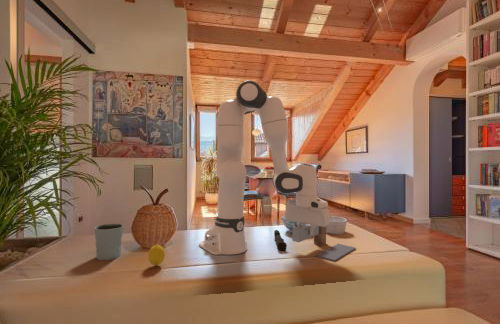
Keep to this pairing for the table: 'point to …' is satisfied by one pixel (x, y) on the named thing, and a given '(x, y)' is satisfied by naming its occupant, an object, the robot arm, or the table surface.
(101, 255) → the blue-grey cup
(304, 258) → the table surface
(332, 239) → the table surface
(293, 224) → the chinaware
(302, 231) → the bar
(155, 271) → the table surface
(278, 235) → the hand tool
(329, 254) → the tool mat
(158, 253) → the lemon
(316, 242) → the walnut block
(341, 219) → the ramekin
